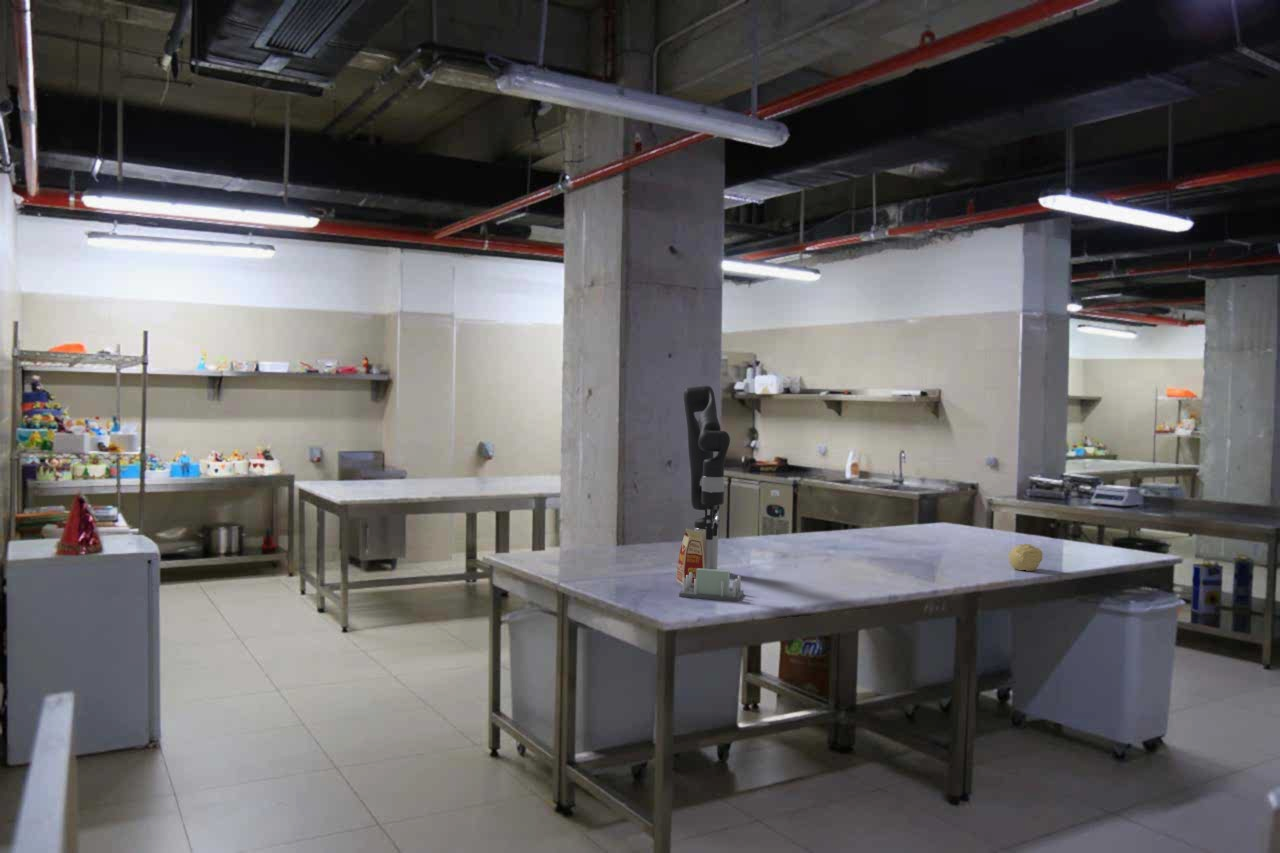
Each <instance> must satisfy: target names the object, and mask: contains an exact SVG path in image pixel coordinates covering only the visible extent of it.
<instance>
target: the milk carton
mask: <svg viewBox="0 0 1280 853" xmlns="http://www.w3.org/2000/svg"><path fill="white" fill-rule="evenodd" d="M702 534H703V532H700V531H694V529H690V528H685V532H684V535H683V539H682V541H681V545H680V549H679V553H678V561H677V565H676V582H677V583H679V584H681V585H682V586H683V578H686V575H689V573H690V572H692V586H694V579H696V569H697V568H703V569H705V567H704V550H703V541H702Z"/></svg>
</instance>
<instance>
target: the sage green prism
mask: <svg viewBox="0 0 1280 853" xmlns="http://www.w3.org/2000/svg"><path fill="white" fill-rule="evenodd" d="M730 572H731V571H730V570H729V569H718V568H717V569H703V568H697V569H696V579H697V593H698V594H711V595H721V581H724V596H728V595H729V590H730V577H731V576H730V574H731V573H730Z"/></svg>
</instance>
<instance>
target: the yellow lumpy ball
mask: <svg viewBox="0 0 1280 853" xmlns="http://www.w3.org/2000/svg"><path fill="white" fill-rule="evenodd" d="M1009 552H1010V553H1009V555H1008V560H1009V561H1008V562H1009V564H1010V567H1012V568H1014V569H1016V570H1017V571H1018V570H1019V571H1021V570H1026V571H1025V572H1034V571H1036V570H1037V569H1038V567H1039V566H1040V564H1041V562H1042V561H1043V555H1044V553H1043V551H1042V550H1041V548H1038V547H1036V546H1033V545H1032V544H1026V543H1024V544H1019V545H1016V546H1014V547H1013V548H1012V549H1011V551H1009Z"/></svg>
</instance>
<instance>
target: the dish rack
mask: <svg viewBox="0 0 1280 853" xmlns="http://www.w3.org/2000/svg"><path fill="white" fill-rule="evenodd" d="M741 577H742V576H741V575H737V578H735V580H734V581H733V582H732V589H729V595H728V596H724V581H721V595H711V594H698V593H697V579H694V585H692V572H690V573H689V575H686V578H683V585H682V590H681V591H680V592H679V593H678V597H679V598H680V597H681V598H692V599H705V600H715V601H716V600H717V601H728V602H729V601H730V602H739V601H740V599H741V598H742V597H743V596H744V590H742V589H741V586H742V585H741V582H742V581H741V579H742V578H741Z"/></svg>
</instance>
